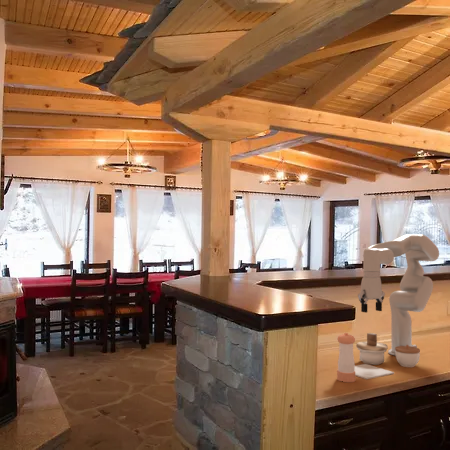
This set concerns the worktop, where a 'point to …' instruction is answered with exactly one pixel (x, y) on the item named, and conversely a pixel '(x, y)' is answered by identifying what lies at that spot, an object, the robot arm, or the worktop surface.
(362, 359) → the mushroom
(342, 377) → the pepper shaker
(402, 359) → the lidded jar
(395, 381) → the worktop surface
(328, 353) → the worktop surface
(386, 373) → the mat
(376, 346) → the lid
